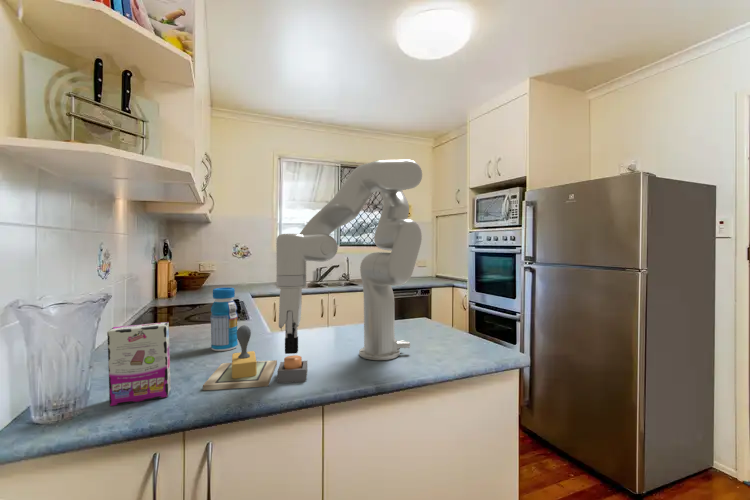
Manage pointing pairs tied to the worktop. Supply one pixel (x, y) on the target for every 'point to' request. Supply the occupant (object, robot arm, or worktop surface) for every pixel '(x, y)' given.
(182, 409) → the worktop surface
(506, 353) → the worktop surface
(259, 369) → the picture board
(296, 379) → the button housing
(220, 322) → the beverage bottle
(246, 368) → the rubber stamp
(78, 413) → the worktop surface
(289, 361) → the button
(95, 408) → the worktop surface
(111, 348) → the candy bar box
